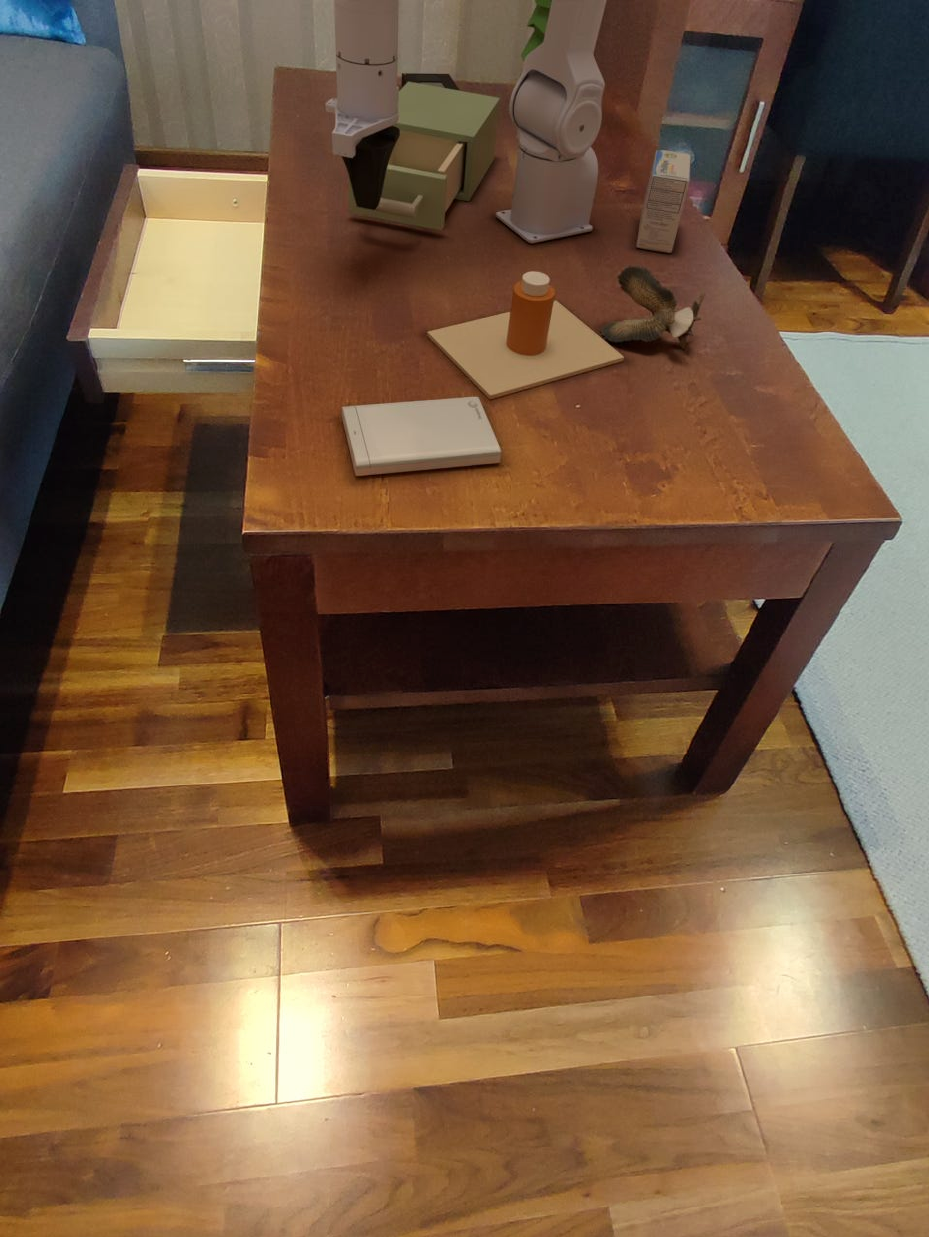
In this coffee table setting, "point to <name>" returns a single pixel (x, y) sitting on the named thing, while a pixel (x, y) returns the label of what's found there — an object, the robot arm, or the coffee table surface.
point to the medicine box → (664, 201)
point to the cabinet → (453, 124)
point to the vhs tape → (430, 80)
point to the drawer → (419, 181)
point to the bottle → (530, 314)
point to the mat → (505, 371)
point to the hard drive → (419, 435)
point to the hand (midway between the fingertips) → (367, 205)
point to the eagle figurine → (658, 302)
